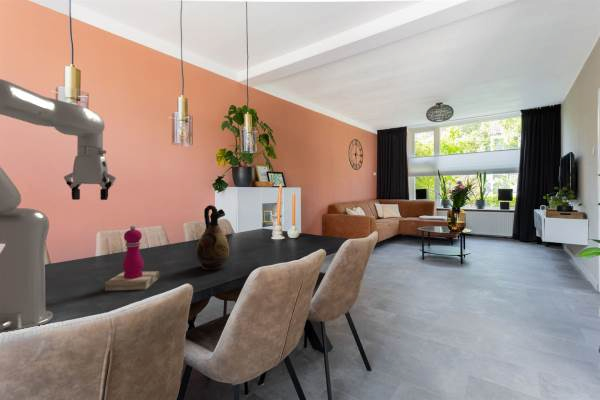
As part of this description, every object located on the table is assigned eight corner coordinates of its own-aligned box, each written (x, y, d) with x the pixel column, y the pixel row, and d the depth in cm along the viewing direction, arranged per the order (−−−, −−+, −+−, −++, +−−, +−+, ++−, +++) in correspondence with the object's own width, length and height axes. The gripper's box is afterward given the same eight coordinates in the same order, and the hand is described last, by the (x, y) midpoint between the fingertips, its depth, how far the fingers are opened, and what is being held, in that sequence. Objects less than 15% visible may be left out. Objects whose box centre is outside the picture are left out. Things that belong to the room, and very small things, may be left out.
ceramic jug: (236, 266, 142) (236, 205, 141) (211, 273, 129) (211, 206, 128) (212, 261, 151) (212, 204, 150) (186, 268, 138) (186, 205, 137)
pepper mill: (148, 274, 116) (147, 224, 116) (134, 279, 109) (133, 227, 108) (132, 273, 118) (132, 224, 117) (117, 278, 110) (117, 226, 110)
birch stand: (145, 289, 108) (145, 281, 107) (105, 290, 106) (105, 282, 106) (158, 278, 121) (158, 271, 121) (123, 279, 120) (123, 271, 119)
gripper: (120, 155, 110) (120, 199, 110) (72, 154, 109) (72, 199, 109) (109, 151, 103) (108, 200, 103) (57, 150, 101) (57, 199, 101)
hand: (90, 199), depth 106 cm, fingers open, 9 cm apart
